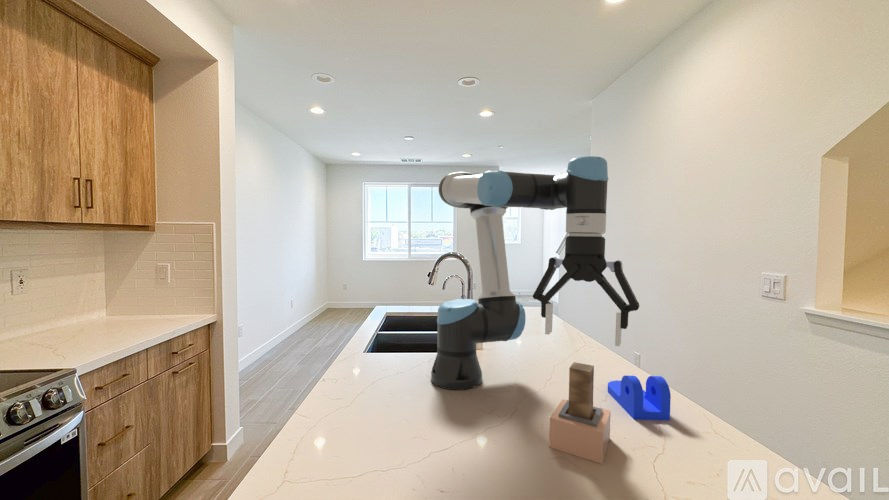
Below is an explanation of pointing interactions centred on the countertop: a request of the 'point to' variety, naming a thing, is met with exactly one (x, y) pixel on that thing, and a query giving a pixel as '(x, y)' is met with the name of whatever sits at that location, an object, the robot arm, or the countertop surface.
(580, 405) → the tall wooden block
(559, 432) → the peach square socket block
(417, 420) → the countertop surface
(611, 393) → the bracket
